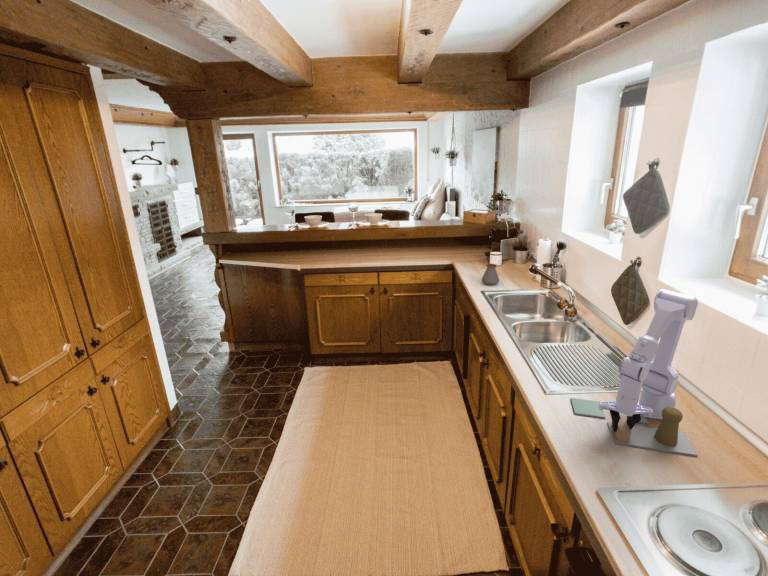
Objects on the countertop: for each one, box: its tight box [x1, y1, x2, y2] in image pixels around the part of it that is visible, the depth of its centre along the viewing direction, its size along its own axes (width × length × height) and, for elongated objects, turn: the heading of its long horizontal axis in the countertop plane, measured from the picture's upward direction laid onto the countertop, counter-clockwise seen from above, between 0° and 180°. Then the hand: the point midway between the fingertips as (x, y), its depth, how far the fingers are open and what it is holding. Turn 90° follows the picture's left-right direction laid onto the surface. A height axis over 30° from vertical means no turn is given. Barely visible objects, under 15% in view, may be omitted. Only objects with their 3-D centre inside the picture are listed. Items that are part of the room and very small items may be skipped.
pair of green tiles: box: [570, 397, 648, 425], centre depth 139 cm, size 22×9×1 cm, turn 75°
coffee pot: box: [481, 255, 500, 287], centre depth 267 cm, size 21×12×15 cm, turn 177°
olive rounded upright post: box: [654, 407, 684, 446], centre depth 123 cm, size 6×6×11 cm
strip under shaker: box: [607, 415, 699, 457], centre depth 126 cm, size 22×10×5 cm, turn 75°
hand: (620, 430), depth 128 cm, fingers closed on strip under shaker, 3 cm apart
